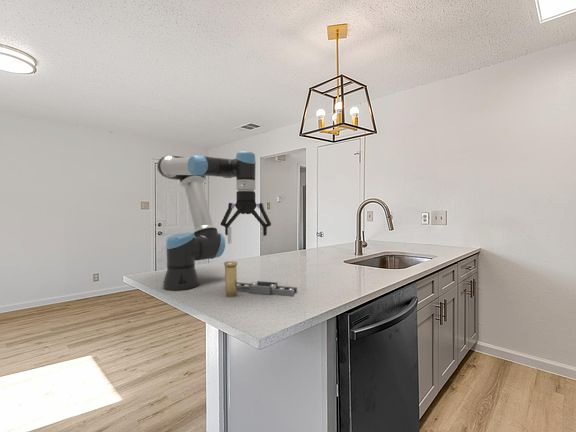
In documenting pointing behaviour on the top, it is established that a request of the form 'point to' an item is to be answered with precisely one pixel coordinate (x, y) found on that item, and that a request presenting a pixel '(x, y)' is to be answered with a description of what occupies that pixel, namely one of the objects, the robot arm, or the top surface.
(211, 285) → the top surface
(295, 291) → the chain joint
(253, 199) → the robot arm
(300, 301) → the top surface
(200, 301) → the top surface
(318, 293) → the top surface
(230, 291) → the pin
